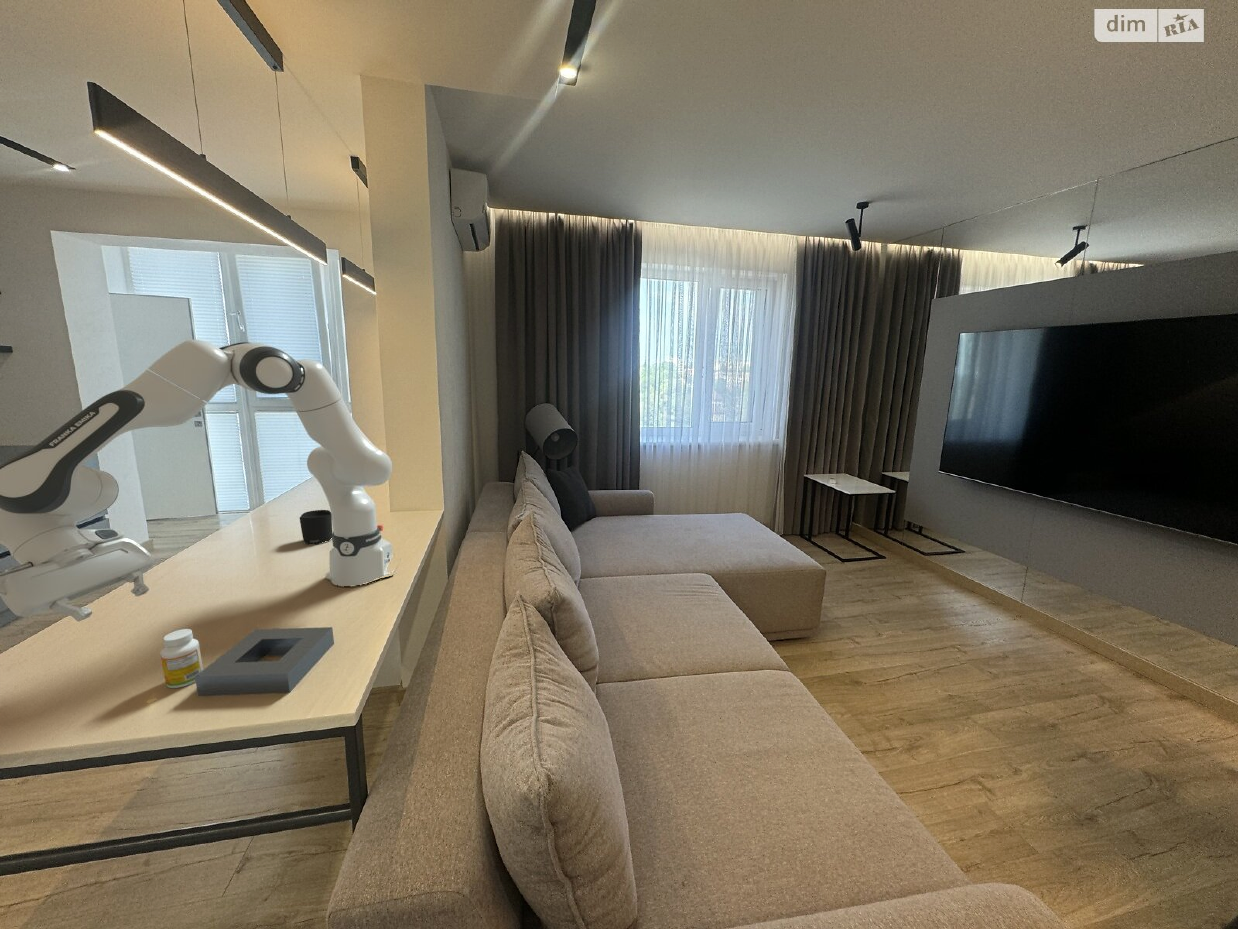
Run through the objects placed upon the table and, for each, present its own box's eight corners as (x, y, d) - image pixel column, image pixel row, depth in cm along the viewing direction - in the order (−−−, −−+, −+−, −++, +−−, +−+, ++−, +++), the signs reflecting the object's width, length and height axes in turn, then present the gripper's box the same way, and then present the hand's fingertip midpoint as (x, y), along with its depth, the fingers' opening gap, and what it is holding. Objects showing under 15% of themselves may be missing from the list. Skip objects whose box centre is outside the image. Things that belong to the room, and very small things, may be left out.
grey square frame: (257, 646, 100) (255, 629, 99) (334, 643, 102) (332, 627, 101) (198, 696, 85) (194, 676, 84) (289, 692, 86) (287, 673, 85)
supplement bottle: (175, 674, 90) (166, 629, 89) (209, 668, 92) (202, 624, 91) (160, 692, 86) (151, 644, 84) (196, 685, 87) (188, 639, 86)
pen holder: (295, 543, 160) (292, 516, 158) (320, 534, 169) (317, 508, 167) (316, 546, 157) (313, 519, 155) (340, 538, 166) (337, 511, 164)
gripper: (-13, 565, 75) (53, 623, 76) (128, 525, 95) (179, 572, 96) (-30, 589, 76) (35, 646, 78) (113, 544, 96) (163, 590, 98)
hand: (116, 604), depth 87 cm, fingers open, 8 cm apart
